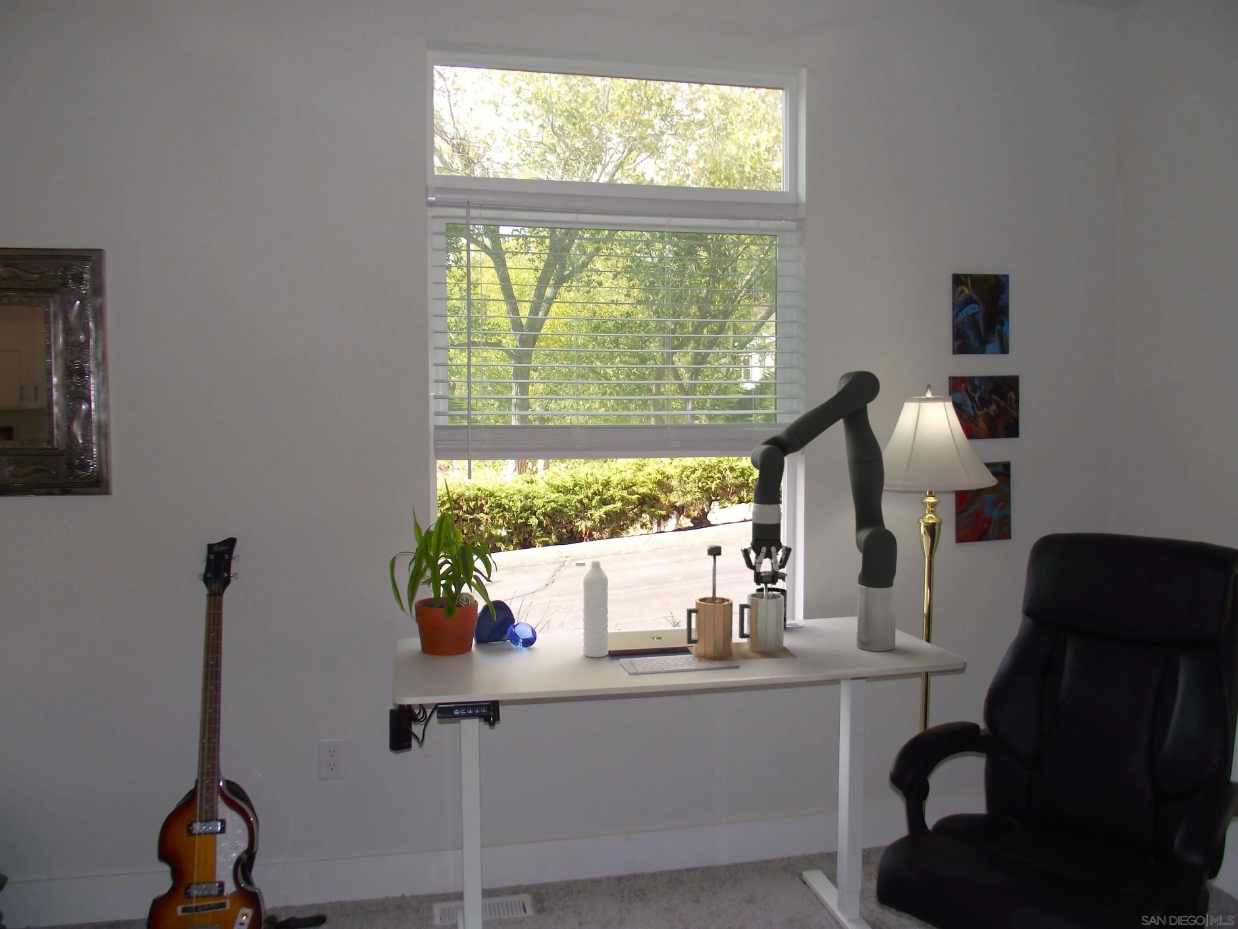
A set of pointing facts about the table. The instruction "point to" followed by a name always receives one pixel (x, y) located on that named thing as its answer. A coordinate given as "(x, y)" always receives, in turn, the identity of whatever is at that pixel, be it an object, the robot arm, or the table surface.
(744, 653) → the board
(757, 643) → the steel carafe
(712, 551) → the black knob plunger
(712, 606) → the copper carafe
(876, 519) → the robot arm
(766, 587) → the steel plunger
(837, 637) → the table surface
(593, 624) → the water bottle
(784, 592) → the french press
